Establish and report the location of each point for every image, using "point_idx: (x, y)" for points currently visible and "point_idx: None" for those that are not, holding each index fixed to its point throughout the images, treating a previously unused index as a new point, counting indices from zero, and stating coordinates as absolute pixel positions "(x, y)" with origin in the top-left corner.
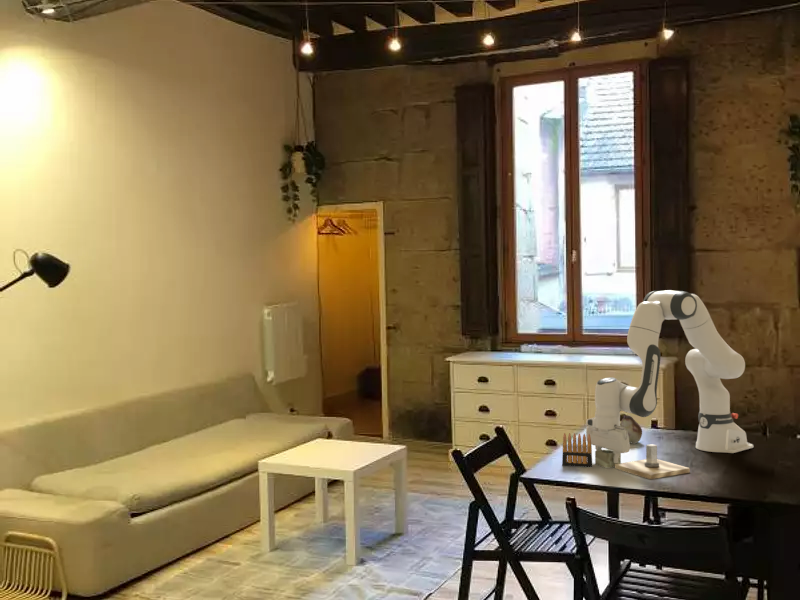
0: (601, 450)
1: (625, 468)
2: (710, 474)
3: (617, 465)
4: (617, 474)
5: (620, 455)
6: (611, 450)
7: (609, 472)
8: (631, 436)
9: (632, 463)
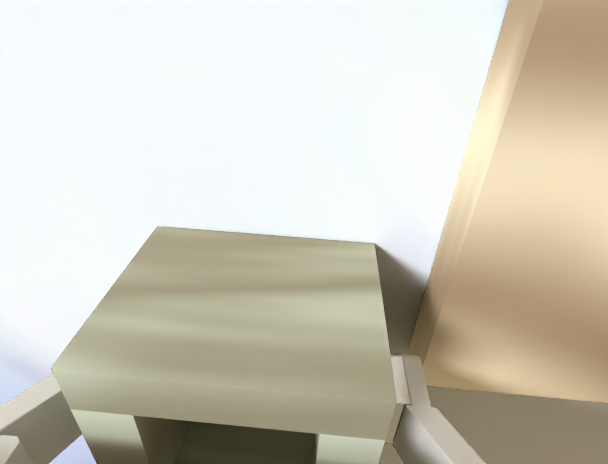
0: None
1: (593, 392)
2: None
3: (459, 384)
4: (559, 442)
5: (387, 349)
6: (189, 410)
7: (466, 440)
8: None
9: (578, 231)
